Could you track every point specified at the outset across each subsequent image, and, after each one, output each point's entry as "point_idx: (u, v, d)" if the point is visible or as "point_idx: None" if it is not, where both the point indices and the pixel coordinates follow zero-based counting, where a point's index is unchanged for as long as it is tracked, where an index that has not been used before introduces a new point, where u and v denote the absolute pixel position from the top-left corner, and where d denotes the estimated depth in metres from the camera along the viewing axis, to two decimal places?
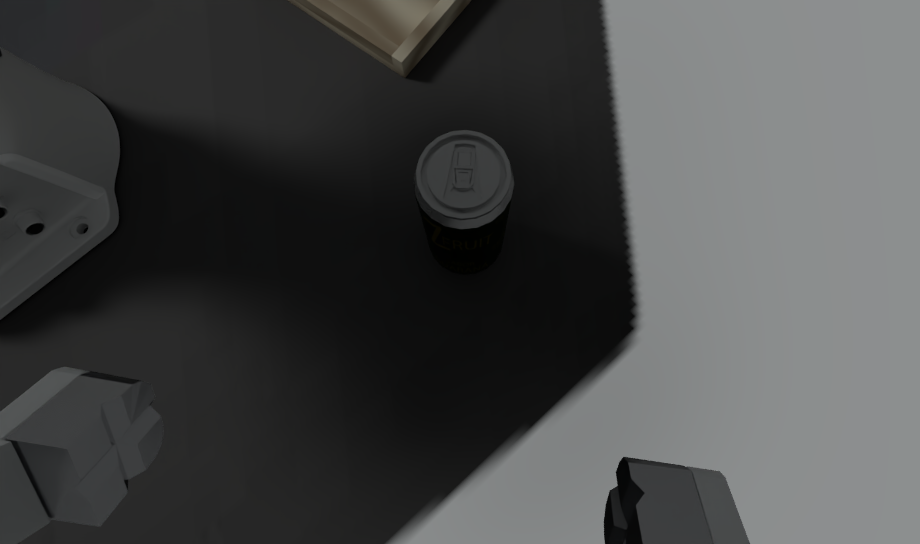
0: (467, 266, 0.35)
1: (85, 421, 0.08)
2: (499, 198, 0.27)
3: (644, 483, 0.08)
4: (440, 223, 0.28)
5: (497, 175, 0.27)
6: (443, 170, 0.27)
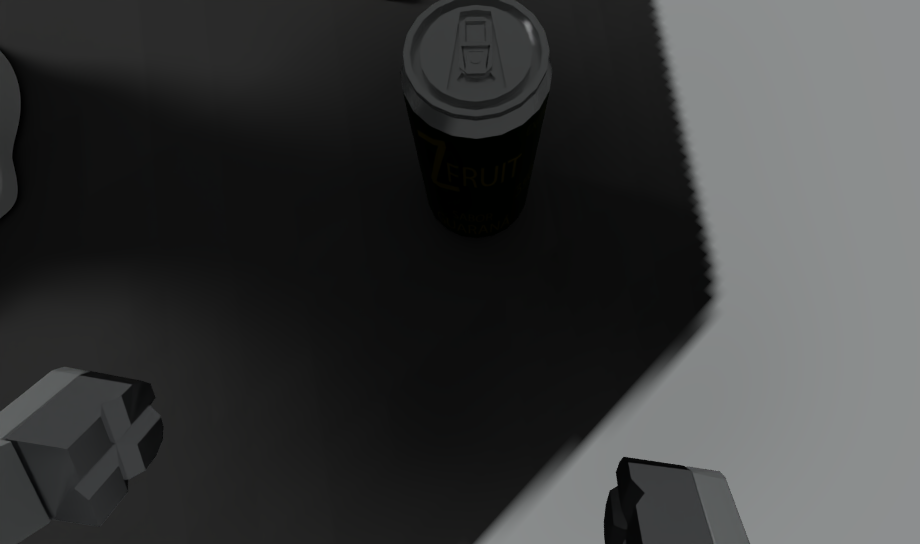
0: (482, 221, 0.26)
1: (85, 421, 0.08)
2: (534, 83, 0.17)
3: (644, 483, 0.08)
4: (444, 132, 0.18)
5: (528, 51, 0.18)
6: (443, 49, 0.18)
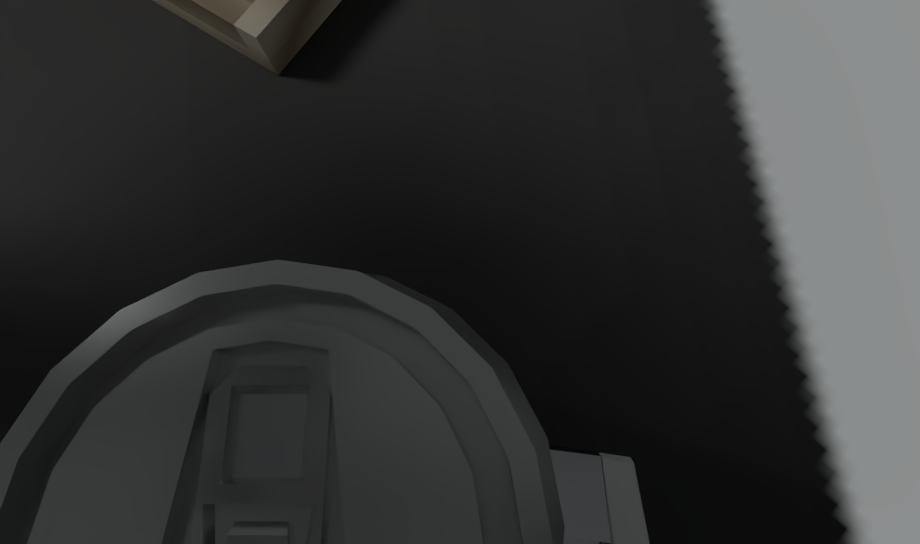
0: None
1: None
2: None
3: None
4: None
5: None
6: (128, 530, 0.04)
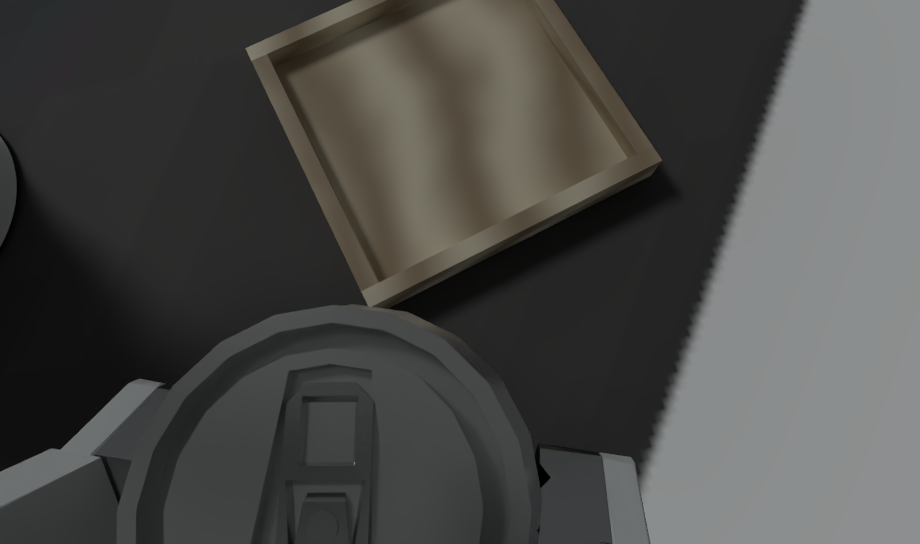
0: None
1: None
2: None
3: (552, 468, 0.08)
4: None
5: (472, 513, 0.06)
6: (233, 499, 0.06)
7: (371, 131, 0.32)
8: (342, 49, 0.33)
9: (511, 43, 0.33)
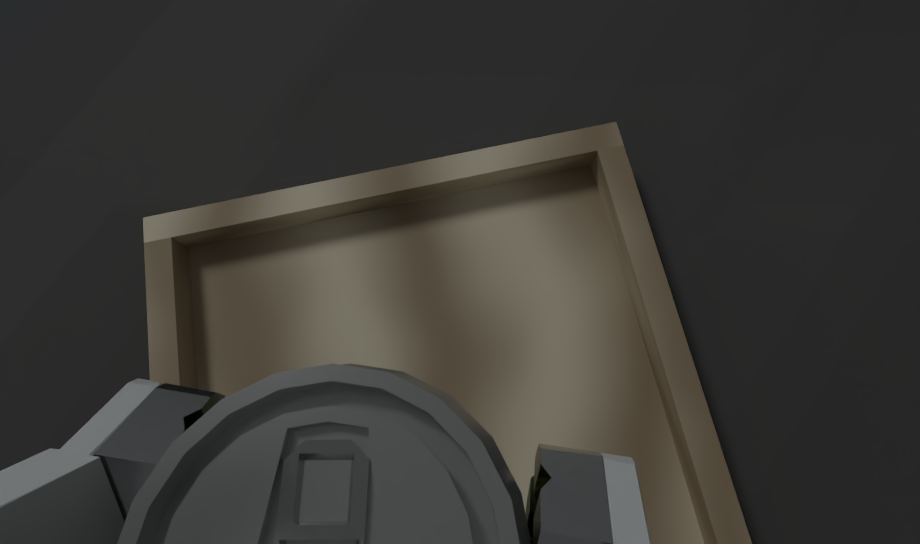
0: None
1: (170, 435, 0.08)
2: None
3: (553, 468, 0.08)
4: None
5: None
6: None
7: None
8: (300, 247, 0.20)
9: (571, 314, 0.19)
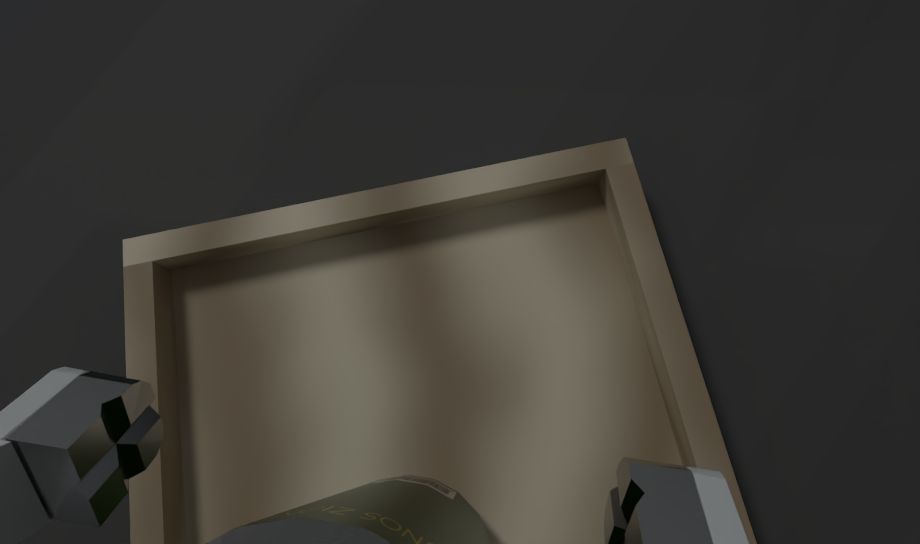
0: None
1: (85, 421, 0.08)
2: None
3: (644, 483, 0.08)
4: None
5: None
6: None
7: (286, 447, 0.17)
8: (289, 270, 0.19)
9: (578, 344, 0.18)
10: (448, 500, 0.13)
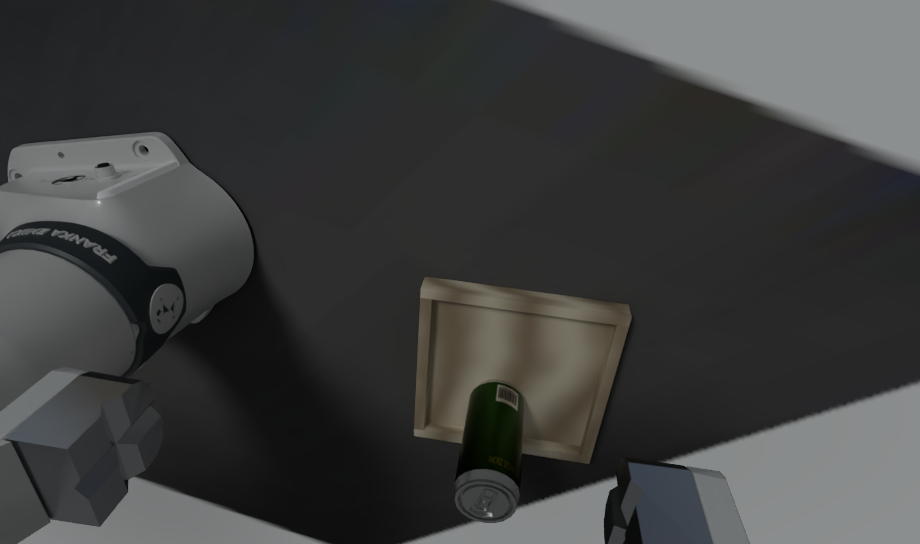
0: None
1: (85, 421, 0.08)
2: (503, 519, 0.43)
3: (644, 483, 0.08)
4: None
5: (506, 509, 0.42)
6: (473, 497, 0.42)
7: (466, 359, 0.50)
8: (480, 307, 0.47)
9: (577, 363, 0.49)
10: (516, 415, 0.48)
